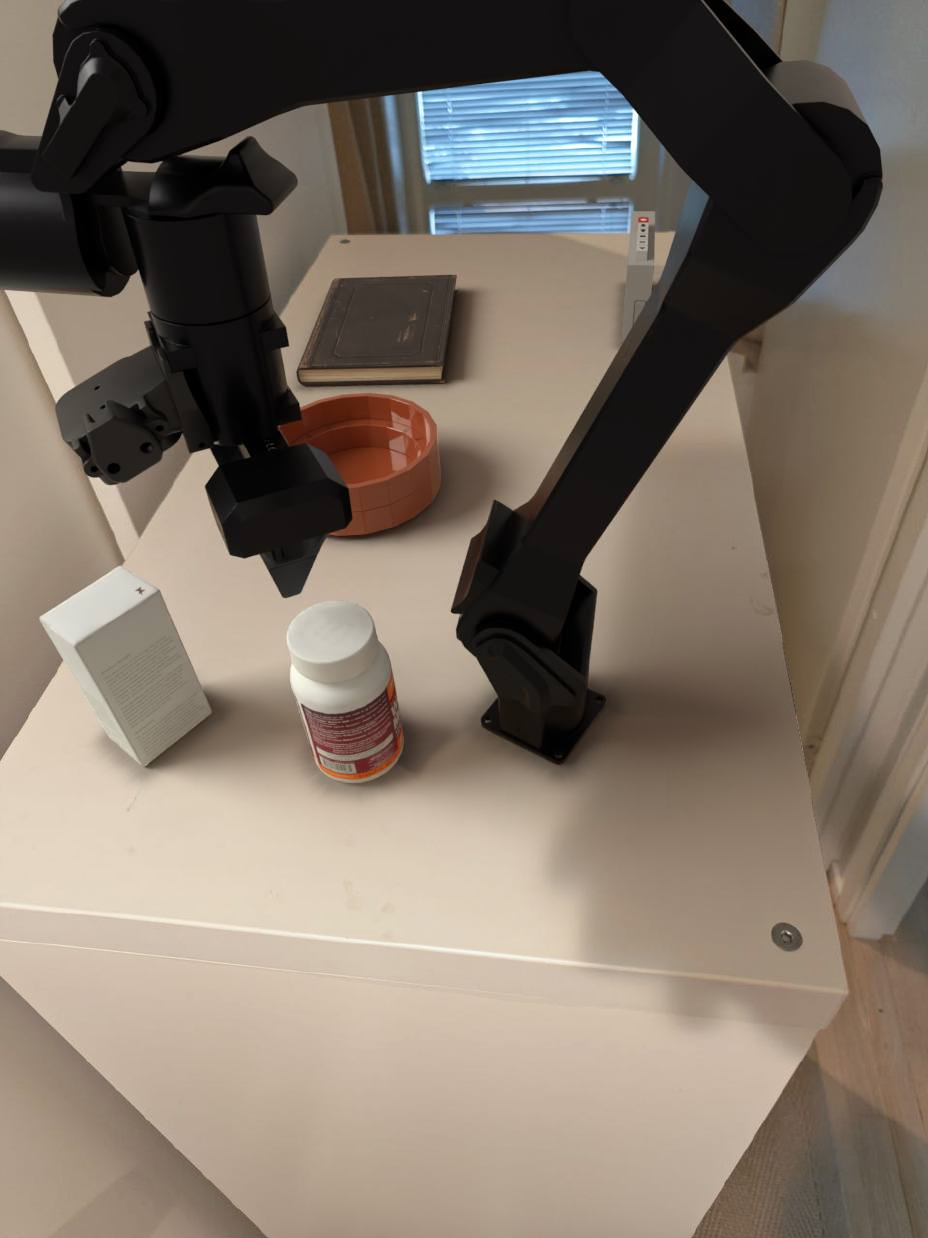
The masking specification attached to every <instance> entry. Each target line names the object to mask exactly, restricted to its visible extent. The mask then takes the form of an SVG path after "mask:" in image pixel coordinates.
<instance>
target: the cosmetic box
mask: <svg viewBox="0 0 928 1238" xmlns="http://www.w3.org/2000/svg"><path fill="white" fill-rule="evenodd" d="M39 621H40V624H41V625H42V626H43V628H44V630H45V632H46V633H47V635H48V637H49V639H50V640H51V642H52V643H53V646H55V649H56V650H57V652H58V653H59V656H60V657H61V658H62V660H63V662H64V663H65V664H66V667H67V668H68V670H69V672H70V673H71V675H72V677H73V679H74V680H75V682H76V684H77V685H78V687H79V689H80V691H81V693H82V694H83V696H84V697H85V699H86V701H87V702H88V704H89V706H90V707H91V709H92V710H93V712H94V714H95V716H96V717H97V720H98V721H99V722H100V724H101V726H102V728H103V729H104V731H105V733H106V735H107V736H108V738H109V739H110V740H111V741H112V742H113V743H115V744H116V745H117V746H118V747H120V749H121V750H123V751H124V752H125V753H126V754H127V755H128V756H130V757H131V758H132V759H133V760H134V761H136V763H138V764H139V765H140V766H141V767H144V768H145V767H146V766H149V764H151V763H152V762H153V761H155V759H156V758H158V757H159V756H160V755H161V754H163V753H164V752H165V751H166V750H168V749H169V748H170V747H171V746H173V745H174V744H175V743H176V742H178V741H179V740H181V738H182V737H183V738H184V736H185V735H187V734H188V733H189V732H190V731H192V730H193V729H194V728H195V727H197V726H198V725H199V724H200V723H202V722H203V721H204V720H206V719H207V718H208V717H209V716H210V715H212V713H213V710H212V707H211V705H210V703H209V701H208V698H207V696H206V694H205V691H204V689H203V686H202V684H201V682H200V680H199V678H198V675H197V674H196V671H195V669H194V665H193V663H192V661H191V659H190V657H189V654H188V652H187V650H186V647H185V645H184V643H183V641H182V638H181V636H180V634H179V631H178V629H177V626H176V624H175V623H174V620H173V618H172V615H171V613H170V611H169V609H168V607H167V604H166V602H165V599H164V597H163V595H162V591H161V590H160V589H159V588H157V587H156V586H154V585H152V584H151V583H150V582H147V581H146V580H144V579H143V578H141V577H140V576H138V575H137V574H135V573H133V571H130V570H129V569H127V568H126V567H124V566H122V565H118V566H117V567H115V568H113V569H112V570H110V571H109V572H108V573H107V574H104V575H103V576H102V577H100V578H98V579H97V580H95V581H94V582H92V583H90V584H89V585H88V586H86V587H84V588H83V589H82V590H80V591H78V592H76V593H75V594H73V595H72V596H70V597H68V598H67V599H66V600H64V601H63V602H61V603H59V604H58V605H56V606H55V607H53V608H52V609H50V610H48V611H47V612H45V613H44V614H42V615H40V616H39Z"/></svg>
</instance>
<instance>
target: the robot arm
mask: <svg viewBox="0 0 928 1238" xmlns="http://www.w3.org/2000/svg"><path fill="white" fill-rule="evenodd" d="M56 12H57V19H56V21H55V25H54V28H53V32H52V36H51V37H52V62H53V66H54V70H55V73H56V77H57V82H56V86H55V90H54V93H53V97H52V101H51V103H50V107H49V109H48V110H49V111H48V113H47V117H46V120H45V124H44V127H43V130H42V134H41V135H23V134H17V133H14V132H10V131H8V130H4V129H0V291H11V292H13V291H14V292H29V293H42V294H55V295H69V296H71V295H72V296H85V297H86V296H87V297H101V298H113V297H115V296H118V295H120V294H121V293H122V292H123V291H124V290H125V288H126V286H127V285H128V283H129V281H130V279H131V276H133V275H135V274H137V272H138V273H139V276H140V280H141V283H142V287H143V291H144V294H145V297H146V302H147V304H148V307H149V311H147V312H146V313H147V316H148V319H149V320H144V321H143V324H144V328H145V331H146V334H147V338H148V341H149V346H147V347H144V348H143V349H140V350H139V351H137V352H135V353H133V354H131V355H129V356H125V357H121V358H120V359H118V360H116V361H114V362H113V363H111V364H109V365H108V366H107V367H104V368H103V369H101V370H100V371H98V372H96V373H95V374H93V375H92V376H89V378H87V379H84V380H83V381H82V382H80V383H79V384H77V385H75V386H74V387H72V388H71V389H69V390H67V391H66V392H65V393H64V394H62V395H61V396H60V398H59V399H58V400H57V401H56V403H55V406H54V409H55V410H54V411H55V415H56V419H57V423H58V427H59V432H60V436H61V439H62V441H63V442H65V443H66V445H67V446H68V447H69V448H70V449H71V450H72V451H73V452H74V454H76V455H77V456H78V457H79V458H80V461H81V464H82V467H83V468H82V469H83V472H84V474H85V475H86V476H87V477H88V478H93V479H96V478H99V479H100V480H101V482H102V483H104V484H105V485H107V486H116V485H119V484H125V483H126V484H127V483H128V482H130V481H131V480H133V479H135V478H137V477H138V476H139V475H142V473H144V472H146V471H147V470H149V469H150V468H153V467H154V466H155V465H157V464H158V463H160V462H161V461H162V459H163V456H164V452H166V451H168V450H169V449H171V448H173V447H174V446H175V445H176V444H177V443H178V442H179V441H180V439H181V438H182V436H183V440H184V443H185V446H186V449H187V451H188V453H189V454H194V453H197V452H201V451H206V450H210V453H211V454H212V456H213V458H214V460H215V462H216V464H217V468H216V469H215V471H214V472H213V473H212V475H211V476H210V477H209V479H208V481H206V483H205V485H204V490H205V493H206V496H207V500H208V503H209V507H210V509H211V513H212V515H213V517H214V520H215V524H216V527H217V529H218V531H219V534H220V535H221V538H222V541H223V543H224V545H225V547H226V550H227V552H228V554H229V556H232V557H236V558H240V559H249V558H252V557H255V556H258V555H259V557H260V558H261V560H262V562H263V564H264V566H265V567H266V570H267V571H268V573H269V576H270V577H271V579H272V581H273V583H274V584H275V586H276V587H277V590H278V591H279V594H280V596H281V597H282V599H289V598H292V597H295V596H298V595H300V594H301V593H302V592H303V590H304V588H305V586H306V583H307V581H308V578H309V576H310V574H311V571H312V569H313V566H314V564H315V562H316V560H317V557H318V554H319V553H320V551H321V549H322V546H323V545H324V543H325V541H326V539H327V538H328V536H329V533H332V532H335V531H339V530H342V529H345V528H347V526H348V525H349V524H350V522H351V521H352V519H353V516H352V509H351V501H350V494H349V488H348V487H347V485H346V484H345V482H344V480H343V479H342V477H341V476H340V474H339V473H338V471H337V469H336V468H335V466H334V465H333V463H332V462H331V460H330V459H329V457H328V455H327V454H326V453H325V452H323V451H321V450H319V449H317V448H315V447H314V446H312V445H310V444H308V443H302V444H299V445H295V446H291V447H290V446H289V444H288V442H287V441H286V439H285V437H284V435H283V434H282V432H281V430H280V429H279V427H278V426H280V425H284V424H288V423H291V422H295V421H299V420H302V416H301V410H300V407H301V406H300V404H301V403H300V401H299V400H298V399H297V397H296V396H295V393H294V392H293V391H292V389H291V387H290V386H289V385H288V381H287V376H286V371H285V370H286V369H285V364H284V360H283V353H282V349H284V348H288V347H290V341H289V336H288V330H287V326H286V324H285V323H284V322H283V320H282V319H281V317H280V316H279V315H278V314H277V312H276V311H275V310H274V304H273V299H272V293H271V288H270V282H269V276H268V272H267V265H266V260H265V255H264V248H263V243H262V237H261V233H260V228H259V222H258V217H257V216H270V215H272V214H273V213H274V212H275V211H276V210H277V208H279V206H280V205H281V204H282V203H283V202H284V201H285V200H286V199H287V198H288V197H289V196H290V195H291V193H293V192H294V191H295V189H296V188H297V187H298V184H299V179H298V176H297V175H296V174H295V173H294V172H293V171H292V170H291V169H289V168H288V167H287V166H286V165H285V164H284V163H282V162H281V161H280V160H278V159H276V158H275V157H273V156H271V155H270V154H269V153H268V152H267V151H265V149H264V148H263V147H262V146H261V145H260V143H259V142H258V139H256V137H254V136H253V135H247V136H245V137H244V138H243V139H242V140H240V141H239V142H238V143H237V144H235V145H234V146H233V147H232V148H231V149H230V150H229V151H228V152H227V154H226V156H223V155H203V154H201V155H200V154H198V155H197V154H187V153H191V152H193V151H196V150H198V149H201V148H205V147H206V146H210V145H212V144H215V143H218V142H220V141H224V140H225V139H228V138H230V137H232V136H235V135H237V134H240V133H242V132H244V131H246V130H249V129H251V128H253V127H255V126H257V125H260V124H262V123H264V122H266V121H268V120H271V119H273V118H276V117H278V116H281V115H283V114H287V113H289V112H291V111H294V110H297V109H300V108H303V107H309V106H315V105H323V104H325V105H326V104H333V103H340V102H341V103H342V102H349V101H355V100H357V101H358V100H365V99H375V98H381V97H390V96H396V95H397V96H399V95H406V94H413V93H421V92H429V91H431V92H432V91H438V90H445V89H454V88H455V89H456V88H463V87H470V86H478V85H487V84H495V83H496V84H497V83H505V82H511V81H519V80H526V79H527V80H528V79H535V78H545V77H553V76H561V75H568V74H576V73H577V74H578V73H584V72H595V73H599V74H601V75H602V77H604V78H605V80H607V81H608V82H609V83H610V85H612V86H613V88H615V89H616V90H617V92H619V93H620V94H621V95H622V97H623V98H624V99H625V100H626V101H627V103H628V104H629V105H630V106H631V108H632V109H633V110H634V111H635V113H636V114H637V115H638V117H639V118H640V119H641V120H642V121H643V123H644V124H645V125H646V126H647V128H648V129H649V131H650V132H651V133H652V134H653V135H654V136H655V138H656V139H657V140H658V141H659V143H660V144H661V146H662V147H663V148H664V149H665V150H666V152H667V153H668V154H669V155H670V156H671V158H672V159H673V161H674V162H675V163H676V164H677V166H678V167H679V168H680V169H681V170H682V171H683V173H685V175H686V176H688V177H689V178H690V179H691V180H692V181H691V183H690V186H689V188H688V191H687V194H686V197H685V200H684V203H683V207H682V211H681V213H680V216H679V219H678V223H677V226H676V229H675V232H674V236H673V238H672V242H671V245H670V248H669V252H668V255H667V258H666V261H665V265H664V267H663V270H662V272H661V275H660V278H659V280H658V281H657V283H656V285H655V287H654V289H653V290H652V292H651V295H650V297H649V299H648V301H647V302H646V304H645V306H644V307H643V309H642V311H641V313H640V314H639V316H638V318H637V320H636V321H635V323H634V325H633V326H632V328H631V330H630V332H629V333H628V335H627V337H626V338H625V340H624V342H623V344H622V343H621V345H620V346H619V348H618V350H617V352H616V354H615V356H614V357H613V359H612V361H611V362H610V364H609V366H608V368H607V370H606V371H605V373H604V375H603V377H602V378H601V379H600V381H599V383H598V385H597V387H596V388H595V390H594V392H593V394H592V395H591V397H590V398H589V400H588V402H587V403H586V405H585V407H584V409H583V410H582V413H581V414H580V416H579V417H578V419H577V421H576V422H575V425H574V426H573V428H572V429H571V431H570V433H569V435H568V436H567V438H566V439H565V442H564V444H562V447H561V448H560V450H559V452H558V453H557V456H556V457H555V459H554V460H553V462H552V464H551V466H550V467H549V469H548V470H547V473H546V474H545V476H544V477H543V479H542V481H541V483H540V485H539V486H538V488H537V490H536V491H535V493H534V495H532V497H531V498H530V499H529V500H528V501H526V502H525V503H523V504H521V505H520V506H518V507H516V508H514V509H512V508H511V507H508V506H507V505H506V504H504V503H502V502H501V501H499V500H498V499H493V501H492V504H491V507H490V510H489V515H488V517H487V521H486V522H485V525H484V526H483V527H482V528H481V530H480V531H479V532H478V533H477V534H475V535H474V536H472V537H471V538H470V541H469V544H468V547H467V550H466V555H465V558H464V561H463V566H462V568H461V572H460V576H459V580H458V582H457V586H456V591H455V594H454V598H453V601H452V604H451V608H450V613H451V614H453V615H459V616H458V620H457V624H456V628H455V636H456V639H457V640H458V641H459V642H460V643H461V644H462V646H463V648H464V649H465V650H467V651H468V652H469V653H470V654H471V655H472V656H473V657H474V658H476V660H477V662H478V664H479V666H480V668H481V669H482V671H483V672H484V674H485V677H486V678H487V679H488V682H489V683H490V685H491V687H492V688H493V690H494V692H495V694H496V695H497V697H496V698H495V700H493V702H492V703H491V705H490V706H489V707H488V708H487V709H486V710H485V712H484V713H483V714H482V715H481V717H480V726H481V728H482V729H484V730H486V731H489V732H491V733H492V734H494V735H497V737H500V738H502V739H504V740H506V741H509V742H510V743H512V744H514V745H517V746H518V747H520V748H522V749H524V750H526V751H528V752H530V753H532V754H534V755H536V756H538V757H540V758H542V759H544V760H546V761H548V762H550V763H552V764H554V765H557V766H562V765H564V764H565V763H566V762H567V760H568V759H569V758H570V757H571V755H572V754H573V752H574V751H575V750H576V748H577V746H578V745H579V744H580V742H581V741H582V740H583V738H584V737H585V735H586V734H587V733H588V731H589V730H590V729H591V727H592V726H593V724H594V723H595V721H596V720H597V719H598V718H599V716H600V715H601V713H602V712H603V710H604V709H605V707H606V705H607V697H606V696H605V695H604V694H603V693H600V692H598V691H595V690H593V689H591V688H589V678H590V677H589V676H590V665H591V664H590V663H591V655H592V654H591V653H592V644H593V635H594V628H595V627H594V626H595V619H596V608H597V600H598V599H597V598H598V589H597V587H595V586H594V585H593V584H592V583H591V582H589V580H587V579H586V578H584V577H583V576H582V575H581V572H582V569H583V566H584V565H585V561H586V560H587V558H588V556H589V555H590V553H591V552H592V550H593V549H594V548H595V546H596V545H597V543H598V542H599V540H600V539H601V538H602V536H603V535H604V533H605V532H606V530H607V529H608V527H610V524H611V522H613V520H614V519H615V518H616V516H617V514H618V513H619V512H620V510H621V509H622V507H623V506H624V504H625V503H626V501H627V500H628V498H629V497H630V495H631V494H632V493H633V491H634V490H635V489H636V487H637V486H638V484H639V483H640V481H641V480H642V478H643V477H644V476H645V474H646V473H647V471H648V470H649V468H650V467H651V465H652V464H653V462H654V461H655V460H656V458H657V457H658V455H659V454H660V453H661V452H662V449H663V448H664V446H666V444H667V442H668V440H669V439H670V438H671V437H672V435H673V434H674V432H675V431H676V430H677V429H678V426H679V425H680V423H681V422H682V421H683V419H684V418H685V416H686V415H687V414H688V412H689V410H691V407H692V406H693V405H694V403H695V402H696V401H697V399H698V398H699V396H700V394H701V393H702V392H703V390H704V389H705V387H706V386H707V385H708V383H709V382H710V380H711V379H712V377H713V376H714V375H715V373H716V372H717V370H718V369H719V367H720V366H721V364H722V363H723V362H724V360H725V359H726V357H727V356H728V354H729V353H730V352H731V350H732V349H733V348H734V347H735V346H736V345H737V344H738V343H739V341H740V340H742V339H743V338H744V337H746V336H747V335H749V334H750V333H752V332H754V331H755V330H756V329H758V328H759V327H761V326H762V325H764V324H765V323H767V322H768V321H770V320H772V319H773V318H775V317H776V316H778V315H779V314H781V313H782V312H784V311H785V310H787V309H789V308H790V307H792V306H793V305H794V304H795V303H796V302H797V301H798V300H800V298H801V297H802V296H803V295H805V293H807V291H808V290H809V289H810V288H811V287H812V286H813V285H814V284H815V283H816V282H817V281H818V280H819V279H820V278H821V277H822V276H823V275H824V274H825V273H826V272H827V271H828V270H829V269H830V268H831V267H832V266H833V265H834V264H835V262H837V261H838V259H839V258H840V257H841V256H842V255H843V254H844V253H845V252H847V250H848V249H849V248H850V247H852V245H853V244H854V243H855V242H856V241H857V240H858V238H859V237H860V236H861V235H862V234H863V233H864V232H865V230H866V228H867V226H868V224H869V223H870V221H871V219H872V217H873V216H874V213H875V212H876V210H877V207H878V206H879V203H880V200H881V196H882V192H883V189H884V183H883V175H884V173H883V164H882V154H881V153H882V151H881V148H880V146H879V144H878V142H877V139H876V137H875V135H874V134H873V132H872V129H871V128H870V126H869V124H868V122H867V120H866V118H865V116H864V114H863V112H862V110H861V108H860V106H859V105H858V103H857V99H856V98H855V97H854V95H853V92H852V91H851V88H850V87H849V85H848V83H847V81H846V80H845V79H844V78H842V77H841V76H840V75H839V74H838V73H837V72H835V71H834V70H833V69H832V68H831V67H829V66H827V65H824V64H821V63H817V62H814V61H811V60H808V59H801V60H788V61H787V60H786V61H785V60H784V59H783V58H782V57H781V56H780V55H779V54H778V53H777V51H776V50H775V49H774V48H773V47H772V46H771V45H770V44H769V42H768V41H767V40H765V38H764V37H763V36H762V35H761V34H760V32H758V31H757V30H756V28H755V27H754V25H752V24H751V23H750V22H749V21H748V20H747V19H746V18H744V16H743V15H742V14H741V13H740V12H738V10H737V9H735V8H734V7H733V6H732V5H731V3H729V2H728V1H727V0H64V1H63V2H62V3H61V4H60V5H59V6H58V8H57V11H56ZM128 163H137V164H139V163H140V164H152V165H153V164H156V163H160V164H159V166H158V167H157V169H156V171H138V170H137V171H135V170H123V168H122V167H123V166H125V165H126V164H128ZM269 450H270V451H269ZM487 721H489V722H487ZM558 756H560V757H558Z"/></svg>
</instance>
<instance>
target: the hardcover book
mask: <svg viewBox="0 0 928 1238" xmlns="http://www.w3.org/2000/svg"><path fill="white" fill-rule="evenodd" d="M457 277H458V276H457V274H430V275H429V274H428V275H425V274H424V275H396V276H364V277H335V278H334V279H333V280H332V282H331V284H330V286H329V289H328V291H327V292H326V293H327V294H326V296H325V298H324V301H323V303H322V306H321V308H320V311H319V313H318V316H317V319H316V321H315V324H314V326H313V329H312V331H311V332H310V333H311V334H310V335H309V339H308V341H307V343H306V345H305V348H304V351H303V354H302V355H301V359H300V360H299V361H300V362H299V364H298V366H297V369H296V371H295V373H296V379H297V382H298V383H299V385H301V386H303V387H323V386H324V387H328V386H329V387H334V386H335V387H336V386H337V387H338V386H374V385H375V386H377V385H378V386H379V385H381V386H382V385H422V384H423V385H424V384H425V385H426V384H427V385H428V384H445V383H446V375H447V368H448V362H449V356H450V355H449V354H450V347H451V342H452V334H453V327H454V326H453V325H454V320H455V312H456V307H457V300H458V294H459V293H458V292H459V291H458V289H456V284H457V279H458V278H457Z"/></svg>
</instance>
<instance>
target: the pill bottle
mask: <svg viewBox="0 0 928 1238" xmlns="http://www.w3.org/2000/svg"><path fill="white" fill-rule="evenodd" d="M286 643H287V648H288V651H289V656H290V659H291V660H290V661H291V665H290V669H289V681H290V687H291V690H292V693H293V697H294V700H295V703H296V706H297V709H298V712H299V716H300V718H301V722H302V725H303V729H304V732H305V735H306V738H307V742H308V746H309V749H310V751H311V755H312V757H313V760H314V762H315V764H316V766H317V768H318V769H319V770H320V771H321V772H322V773H323V774H325V776H326V777H328V778H330V779H331V780H334V781H336V782H340V783H346V784H361V783H366V782H370V781H372V780H375V779H377V778H379V777H381V776H383V775H385V774H386V773H387V772H389V771H390V770H391V769H392V768H393V767H394V766H395V765H396V764H397V762H398V761H399V759H400V757H401V755H402V753H403V750H404V745H405V738H404V736H405V735H404V728H403V723H402V716H401V711H400V706H399V700H398V694H397V689H396V683H395V682H396V681H395V679H394V672H393V666H392V662H391V659H390V655H389V653H388V651H387V648H386V647H385V645H384V644H382V642H381V641H379V636H378V634H377V629H376V624H375V621H374V619H373V617H372V615H371V614H370V612H369V611H368V610H367V609H366V608H365V607H363V606H361V605H359V604H358V603H355V602H352V601H347V600H327V601H323V602H318V603H316V604H313V605H311V606H309V607H306V608H305V609H303V610H302V611H301V612H299V613H298V614H297V615H296V616H295V617H294V619H293V620H292V621H291V623H290V624H289V626H288V627H287V632H286Z"/></svg>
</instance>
